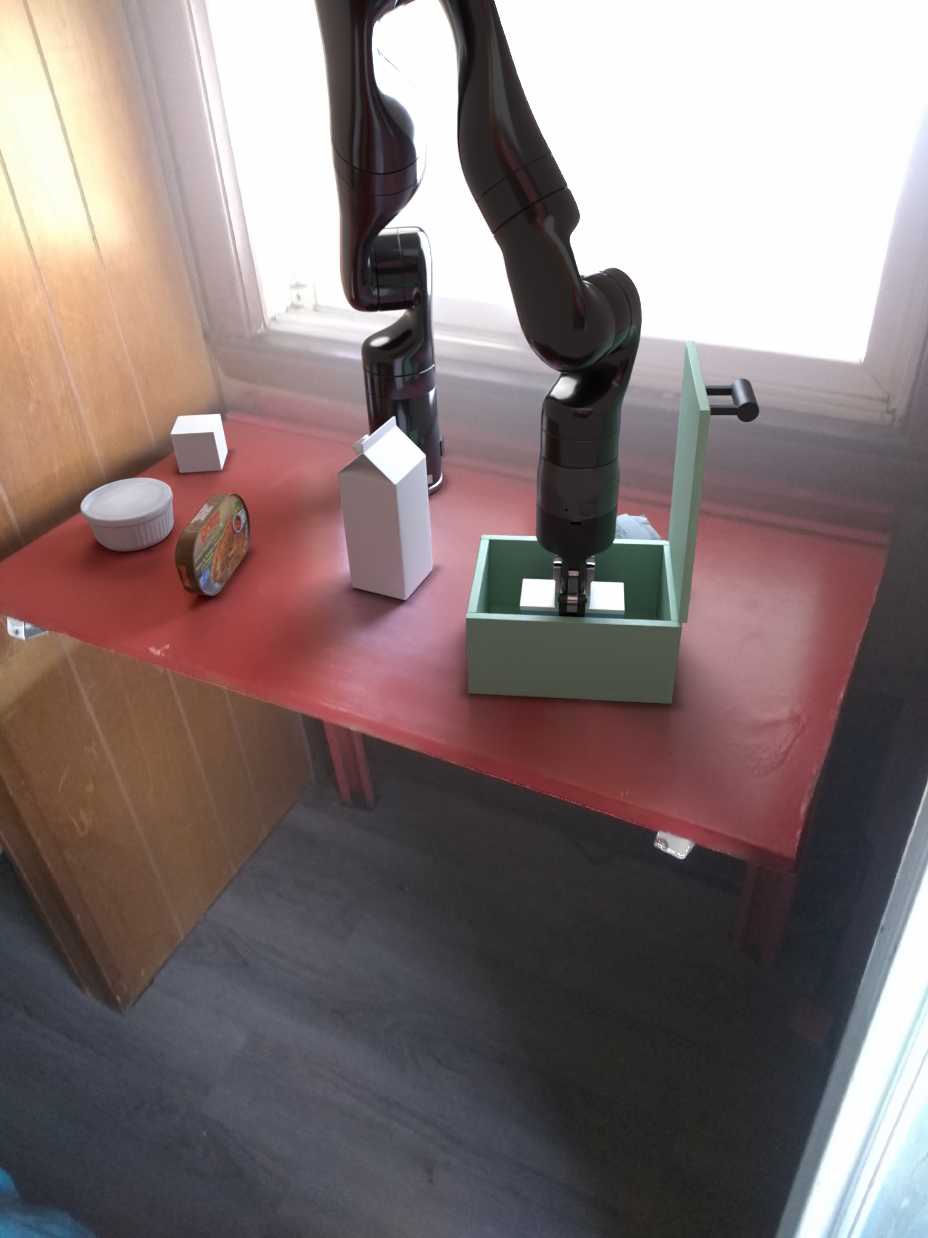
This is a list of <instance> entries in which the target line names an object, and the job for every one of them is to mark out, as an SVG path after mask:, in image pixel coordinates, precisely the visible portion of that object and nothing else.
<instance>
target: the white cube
mask: <svg viewBox="0 0 928 1238" xmlns="http://www.w3.org/2000/svg"><path fill="white" fill-rule="evenodd" d="M224 431H225V430H224V428H223V422H222V417H221V413H213V414H212V413H211V414H210V413H209V414H196V415H195V414H194V415H193V414H192V415H177V418H176V420H175V423H174V425H173V427H172V430H171V431H170V439H171V443H172V447H173V451H174V456H175V459H176V464H177V467H178V471H179V474H180V473H181V474H184V473H201V472H215V471H216V472H217V471H223V468H224V464H225V462H226V458H227V455H228V452H229V451H228V446H227V442H226V436H225V432H224Z"/></svg>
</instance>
